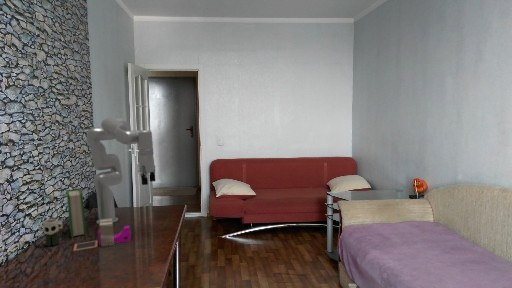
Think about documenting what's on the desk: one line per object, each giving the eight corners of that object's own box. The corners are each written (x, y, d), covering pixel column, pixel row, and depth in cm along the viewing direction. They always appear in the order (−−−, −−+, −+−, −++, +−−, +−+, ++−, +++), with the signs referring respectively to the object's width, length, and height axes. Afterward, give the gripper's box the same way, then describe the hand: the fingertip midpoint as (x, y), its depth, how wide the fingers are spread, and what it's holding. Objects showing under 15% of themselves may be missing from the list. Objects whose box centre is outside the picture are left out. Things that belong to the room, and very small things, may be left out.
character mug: (39, 248, 185) (37, 224, 184) (42, 244, 192) (39, 220, 190) (63, 244, 189) (61, 220, 188) (65, 240, 195) (62, 217, 194)
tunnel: (101, 239, 194) (100, 219, 193) (113, 237, 196) (112, 217, 195) (101, 247, 183) (99, 225, 182) (114, 244, 185) (112, 223, 184)
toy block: (130, 237, 196) (129, 224, 195) (130, 241, 190) (129, 227, 189) (100, 241, 191) (99, 228, 191) (99, 245, 185) (98, 231, 185)
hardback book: (86, 235, 203) (82, 193, 201) (71, 237, 200) (67, 195, 198) (83, 227, 219) (80, 188, 217) (70, 229, 215) (66, 190, 213)
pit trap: (74, 244, 188) (74, 244, 188) (97, 241, 192) (97, 240, 192) (73, 251, 179) (73, 250, 179) (97, 247, 183) (97, 246, 183)
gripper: (147, 151, 208) (149, 180, 210) (132, 154, 191) (135, 186, 193) (159, 150, 207) (161, 179, 209) (145, 154, 190) (148, 185, 192)
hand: (148, 182), depth 201 cm, fingers open, 9 cm apart
